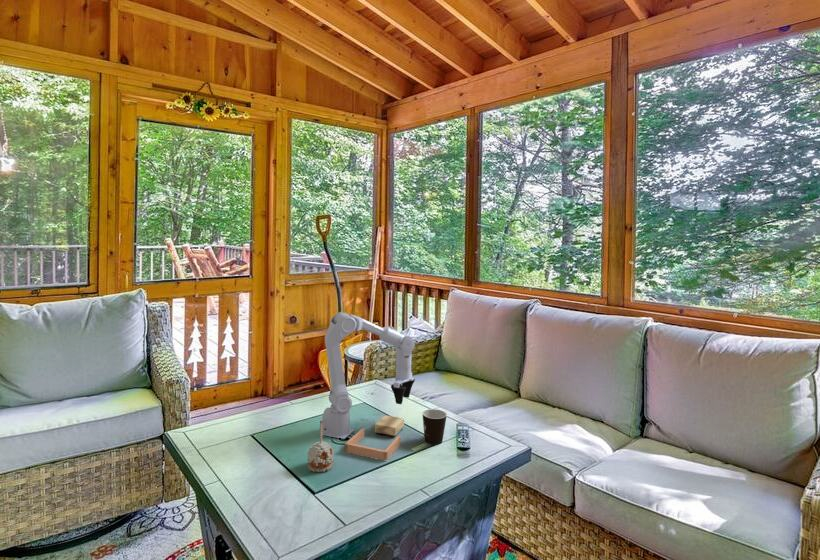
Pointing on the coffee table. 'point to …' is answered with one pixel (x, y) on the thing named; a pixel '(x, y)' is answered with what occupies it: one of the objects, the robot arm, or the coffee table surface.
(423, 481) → the coffee table surface
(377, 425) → the tan wooden block
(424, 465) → the coffee table surface
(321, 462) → the decorative ornament
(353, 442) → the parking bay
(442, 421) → the coffee mug
